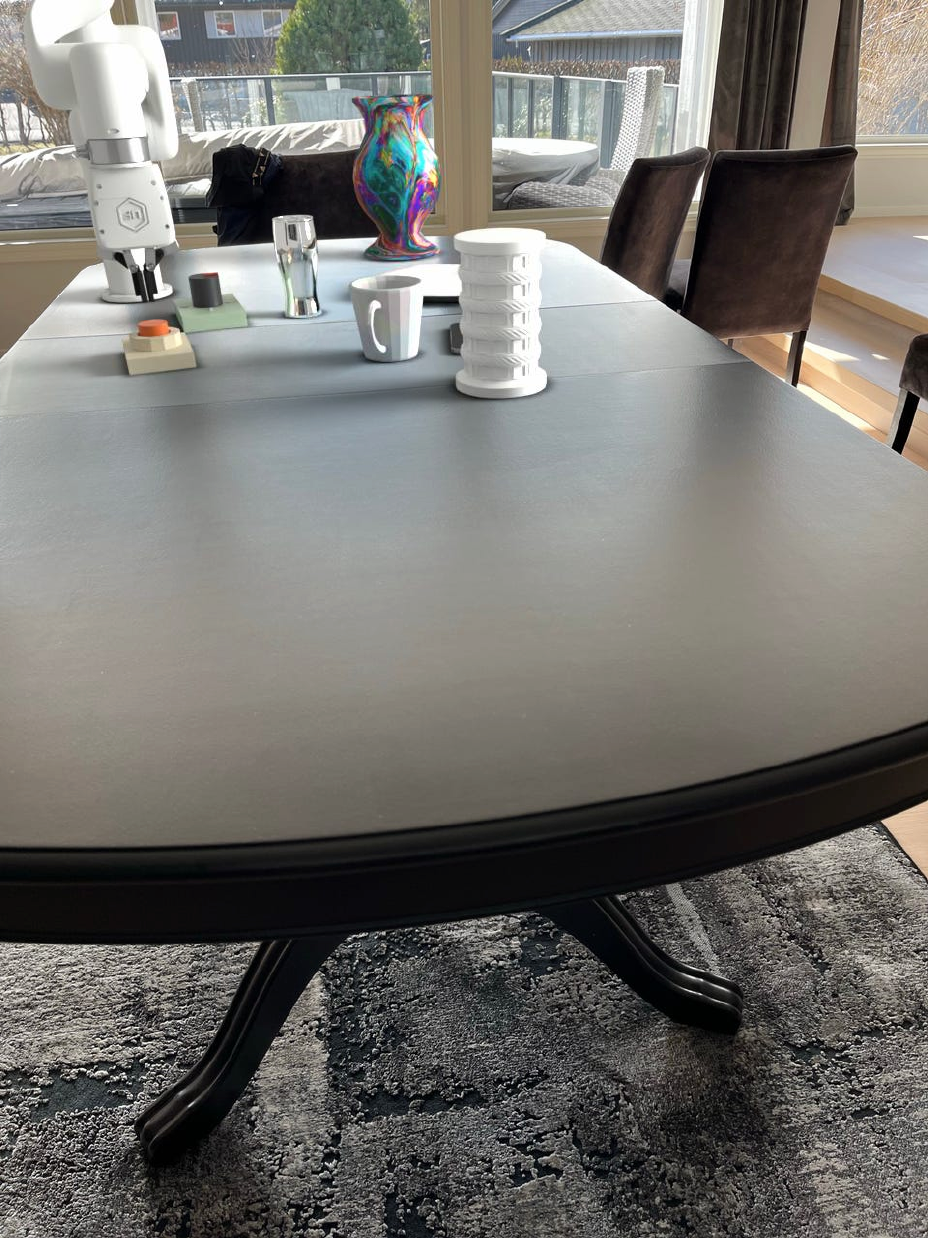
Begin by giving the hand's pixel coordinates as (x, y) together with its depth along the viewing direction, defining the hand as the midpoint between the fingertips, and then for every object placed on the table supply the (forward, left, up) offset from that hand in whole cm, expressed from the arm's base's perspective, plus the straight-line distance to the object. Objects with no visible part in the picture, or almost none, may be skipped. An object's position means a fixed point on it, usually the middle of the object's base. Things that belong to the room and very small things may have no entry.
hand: (148, 300), depth 131 cm
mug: (+14, +30, -9) cm, 34 cm away
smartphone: (+10, +45, -9) cm, 47 cm away
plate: (-26, +52, -9) cm, 59 cm away
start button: (0, 0, -5) cm, 5 cm away
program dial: (-22, +10, -6) cm, 25 cm away
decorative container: (+32, +40, -9) cm, 52 cm away
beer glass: (-19, +25, -9) cm, 33 cm away
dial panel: (-22, +10, -9) cm, 26 cm away
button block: (0, 0, -9) cm, 9 cm away
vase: (-64, +56, -9) cm, 86 cm away
